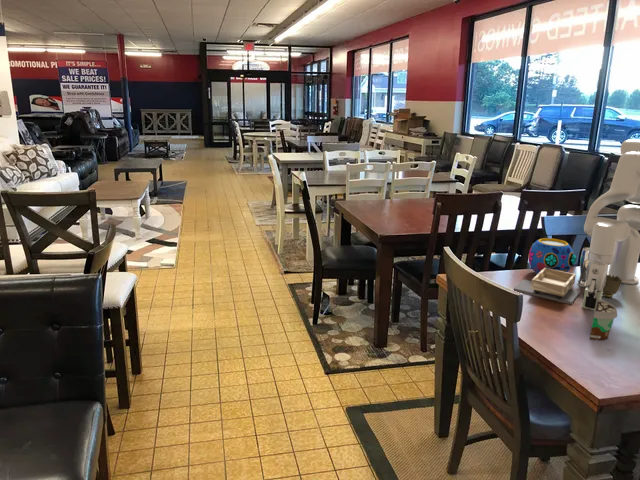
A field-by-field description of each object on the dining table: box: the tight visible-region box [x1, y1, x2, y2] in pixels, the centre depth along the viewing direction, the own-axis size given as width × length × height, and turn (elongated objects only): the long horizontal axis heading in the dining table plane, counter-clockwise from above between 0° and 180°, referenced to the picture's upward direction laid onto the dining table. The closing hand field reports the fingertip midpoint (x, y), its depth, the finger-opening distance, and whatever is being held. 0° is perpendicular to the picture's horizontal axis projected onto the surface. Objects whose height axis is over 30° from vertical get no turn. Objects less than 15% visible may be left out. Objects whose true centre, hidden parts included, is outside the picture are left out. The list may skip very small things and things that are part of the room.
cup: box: [602, 274, 622, 299], centre depth 193 cm, size 8×7×8 cm
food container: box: [589, 299, 618, 342], centre depth 161 cm, size 12×6×10 cm, turn 148°
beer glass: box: [577, 247, 591, 289], centre depth 203 cm, size 7×7×15 cm
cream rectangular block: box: [581, 288, 603, 311], centre depth 183 cm, size 5×5×7 cm
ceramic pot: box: [527, 237, 577, 275], centre depth 213 cm, size 18×18×15 cm
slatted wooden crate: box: [531, 268, 577, 299], centre depth 195 cm, size 18×12×6 cm, turn 143°
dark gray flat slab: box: [513, 279, 580, 306], centre depth 197 cm, size 13×21×1 cm, turn 53°
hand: (591, 304), depth 184 cm, fingers open, 5 cm apart
